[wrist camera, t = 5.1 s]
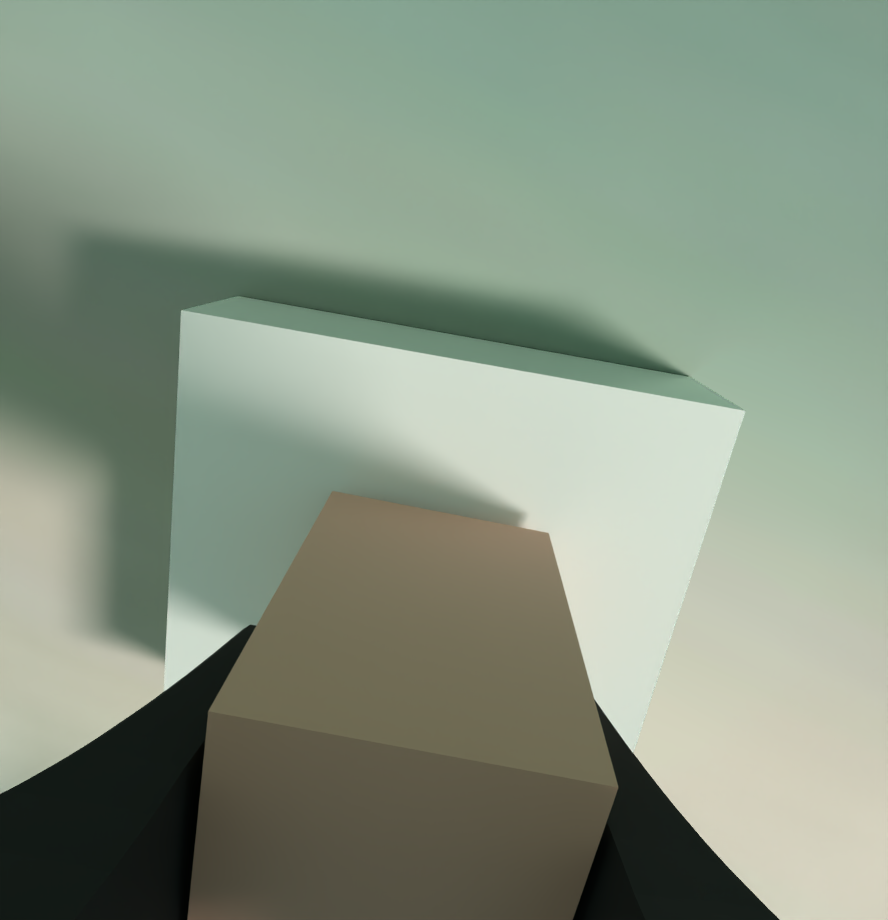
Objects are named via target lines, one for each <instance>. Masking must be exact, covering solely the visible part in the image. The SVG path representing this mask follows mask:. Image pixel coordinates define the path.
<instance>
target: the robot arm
mask: <svg viewBox="0 0 888 920" xmlns="http://www.w3.org/2000/svg"><path fill="white" fill-rule="evenodd" d="M255 627H256V625H249V626H247V627H246V628H244V629H243V630H241V631H240V632H239V633H238V634H236V635H235V636H234V637H233V638H231V639H230V640H229V641H228V642H227V643H225V644H224V645H223V646H222V647H221V648H219V649H218V650H217V651H216V652H214V653H213V654H212V655H211V656H210V657H208V658H207V659H206V660H204V661H203V662H202V663H201V664H199V665H198V666H197V667H196V668H194V669H193V670H192V671H191V672H189V673H188V674H187V675H185V676H184V677H183V678H181V679H180V680H179V681H177V682H176V683H175V684H173V685H172V686H171V687H169V688H168V689H167V690H165V691H164V692H163V693H162V694H160V695H159V696H158V697H156V698H155V699H154V700H152V701H151V702H149V703H148V704H147V705H145V706H144V707H142V708H141V709H139V710H138V711H136V712H135V713H134V714H132V715H131V716H129V717H128V718H126V719H125V720H123V721H122V722H120V723H119V724H117V725H116V726H114V727H113V728H111V729H110V730H108V731H107V732H106V733H104V734H103V735H101V736H100V737H98V738H97V739H95V740H93V741H92V742H90V743H89V744H87V745H86V746H84V747H82V748H81V749H79V750H78V751H76V752H74V753H73V754H71V755H69V756H68V757H66V758H64V759H63V760H61V761H59V762H58V763H56V764H54V765H53V766H51V767H49V768H47V769H46V770H44V771H42V772H40V773H39V774H37V775H35V776H33V777H32V778H30V779H28V780H26V781H24V782H23V783H21V784H19V785H17V786H15V787H13V788H11V789H9V790H8V791H5V792H3V793H1V794H0V920H187V918H188V909H189V899H190V889H191V879H192V869H193V859H194V849H195V839H196V829H197V819H198V809H199V799H200V789H201V779H202V769H203V759H204V749H205V739H206V729H207V719H208V711H209V709H210V707H211V706H212V704H213V702H214V700H215V698H216V697H217V695H218V693H219V691H220V690H221V688H222V686H223V684H224V682H225V681H226V679H227V677H228V675H229V674H230V672H231V670H232V668H233V666H234V665H235V663H236V661H237V659H238V658H239V656H240V654H241V652H242V651H243V649H244V647H245V645H246V643H247V642H248V640H249V638H250V636H251V635H252V633H253V631H254V629H255ZM594 700H595V699H594ZM595 704H596V707H597V711H598V715H599V718H600V722H601V725H602V729H603V733H604V736H605V740H606V744H607V747H608V751H609V755H610V758H611V762H612V766H613V769H614V773H615V776H616V780H617V784H618V790H617V793H616V796H615V799H614V802H613V805H612V808H611V811H610V813H609V816H608V819H607V822H606V825H605V828H604V831H603V834H602V837H601V839H600V842H599V845H598V848H597V851H596V854H595V857H594V860H593V863H592V865H591V868H590V871H589V874H588V877H587V880H586V883H585V886H584V889H583V891H582V894H581V897H580V900H579V903H578V906H577V909H576V912H575V915H574V917H573V920H779V919H778V918H777V917H776V916H775V915H774V914H773V913H772V912H771V911H770V910H769V909H768V908H767V907H766V906H765V905H764V904H763V903H762V902H761V901H760V900H759V899H758V898H757V897H756V896H755V895H754V893H753V892H752V891H751V890H750V889H749V888H748V887H747V886H746V885H745V884H744V883H743V882H742V881H741V880H740V879H739V878H738V877H737V876H736V875H735V874H734V873H733V872H732V871H731V870H730V869H729V868H728V867H727V866H726V865H725V864H724V862H723V861H722V860H721V859H720V858H719V857H718V856H717V855H716V854H715V853H714V851H713V850H712V849H711V848H710V847H709V846H708V845H707V844H706V843H705V841H704V840H703V839H702V838H701V837H700V836H699V834H698V833H697V832H696V831H695V830H694V828H693V827H692V826H691V825H690V824H689V823H688V821H687V820H686V819H685V818H684V817H683V816H682V814H681V813H680V812H679V811H678V810H677V809H676V807H675V806H674V805H673V804H672V802H671V801H670V800H669V799H668V797H667V796H666V795H665V794H664V793H663V791H662V790H661V789H660V788H659V786H658V785H657V784H656V782H655V781H654V780H653V779H652V777H651V776H650V775H649V773H648V772H647V771H646V770H645V768H644V767H643V766H642V764H641V763H640V762H639V760H638V759H637V758H636V756H635V755H634V754H633V752H632V751H631V750H630V748H629V747H628V746H627V744H626V743H625V741H624V740H623V739H622V737H621V736H620V734H619V733H618V732H617V730H616V729H615V728H614V726H613V725H612V723H611V722H610V721H609V719H608V718H607V716H606V715H605V713H604V712H603V711H602V709H601V708H600V706H599V705H598V704H597V702H596V701H595Z"/></svg>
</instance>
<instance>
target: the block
mask: <svg viewBox="0 0 888 920" xmlns="http://www.w3.org/2000/svg"><path fill="white" fill-rule="evenodd" d="M617 790H618V784H617V780H616V776H615V773H614V769H613V766H612V762H611V758H610V755H609V751H608V747H607V744H606V740H605V736H604V733H603V729H602V725H601V722H600V718H599V715H598V711H597V707H596V704H595V700H594V696H593V693H592V689H591V685H590V682H589V678H588V674H587V671H586V667H585V664H584V660H583V656H582V653H581V649H580V645H579V642H578V638H577V634H576V631H575V627H574V623H573V620H572V616H571V612H570V609H569V605H568V602H567V598H566V594H565V591H564V587H563V583H562V580H561V576H560V572H559V569H558V565H557V561H556V558H555V554H554V551H553V547H552V543H551V540H550V536H549V533H546V532H541V531H536V530H531V529H526V528H521V527H516V526H510V525H505V524H500V523H495V522H490V521H485V520H480V519H474V518H469V517H464V516H459V515H454V514H449V513H444V512H438V511H433V510H428V509H423V508H418V507H413V506H408V505H402V504H397V503H392V502H387V501H382V500H377V499H372V498H366V497H361V496H356V495H351V494H346V493H341V492H336V491H332V492H331V494H330V496H329V498H328V500H327V501H326V503H325V505H324V507H323V508H322V510H321V512H320V514H319V516H318V517H317V519H316V521H315V523H314V524H313V526H312V528H311V530H310V532H309V533H308V535H307V537H306V539H305V540H304V542H303V544H302V546H301V548H300V549H299V551H298V553H297V555H296V556H295V558H294V560H293V562H292V564H291V565H290V567H289V569H288V571H287V572H286V574H285V576H284V578H283V579H282V581H281V583H280V585H279V587H278V588H277V590H276V592H275V594H274V595H273V597H272V599H271V601H270V603H269V604H268V606H267V608H266V610H265V611H264V613H263V615H262V617H261V619H260V620H259V622H258V624H257V626H256V627H255V629H254V631H253V633H252V635H251V636H250V638H249V640H248V642H247V643H246V645H245V647H244V649H243V651H242V652H241V654H240V656H239V658H238V659H237V661H236V663H235V665H234V666H233V668H232V670H231V672H230V674H229V675H228V677H227V679H226V681H225V682H224V684H223V686H222V688H221V690H220V691H219V693H218V695H217V697H216V698H215V700H214V702H213V704H212V706H211V707H210V709H209V711H208V719H207V729H206V739H205V749H204V759H203V769H202V779H201V789H200V799H199V809H198V819H197V829H196V839H195V849H194V859H193V869H192V879H191V889H190V899H189V909H188V918H187V920H573V917H574V915H575V912H576V909H577V906H578V903H579V900H580V897H581V894H582V891H583V889H584V886H585V883H586V880H587V877H588V874H589V871H590V868H591V865H592V863H593V860H594V857H595V854H596V851H597V848H598V845H599V842H600V839H601V837H602V834H603V831H604V828H605V825H606V822H607V819H608V816H609V813H610V811H611V808H612V805H613V802H614V799H615V796H616V793H617Z"/></svg>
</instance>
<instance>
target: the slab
mask: <svg viewBox="0 0 888 920" xmlns="http://www.w3.org/2000/svg"><path fill="white" fill-rule="evenodd" d="M744 414H745V410H743V409H742V408H740V407H738V406H737V405H735V404H734V403H732V402H730V401H729V400H727V399H726V398H724V397H722V396H721V395H719V394H718V393H716V392H714V391H713V390H711V389H709V388H708V387H706V386H705V385H703V384H701V383H700V382H698V381H697V380H695V379H693V378H692V377H687V376H682V375H676V374H671V373H665V372H659V371H654V370H648V369H643V368H637V367H631V366H626V365H620V364H615V363H609V362H604V361H598V360H592V359H587V358H581V357H576V356H570V355H565V354H559V353H553V352H548V351H542V350H537V349H531V348H525V347H520V346H514V345H509V344H503V343H498V342H492V341H486V340H481V339H475V338H470V337H464V336H459V335H453V334H447V333H442V332H436V331H431V330H425V329H419V328H414V327H408V326H403V325H397V324H392V323H386V322H380V321H375V320H369V319H364V318H358V317H353V316H347V315H341V314H336V313H330V312H325V311H319V310H313V309H308V308H302V307H297V306H291V305H286V304H280V303H274V302H269V301H263V300H258V299H252V298H247V297H241V296H236V297H232V298H228V299H224V300H220V301H216V302H212V303H208V304H204V305H200V306H196V307H192V308H188V309H184V310H181V324H180V346H179V368H178V390H177V412H176V434H175V456H174V478H173V500H172V522H171V544H170V566H169V588H168V610H167V632H166V654H165V676H164V691H165V690H167V689H168V688H169V687H171V686H172V685H173V684H175V683H176V682H177V681H179V680H180V679H181V678H183V677H184V676H185V675H187V674H188V673H189V672H191V671H192V670H193V669H194V668H196V667H197V666H198V665H199V664H201V663H202V662H203V661H204V660H206V659H207V658H208V657H210V656H211V655H212V654H213V653H214V652H216V651H217V650H218V649H219V648H221V647H222V646H223V645H224V644H225V643H227V642H228V641H229V640H230V639H231V638H233V637H234V636H235V635H236V634H238V633H239V632H240V631H241V630H243V629H244V628H246V627H247V626H249V625H256V626H257V624H258V622H259V620H260V619H261V617H262V615H263V613H264V611H265V610H266V608H267V606H268V604H269V603H270V601H271V599H272V597H273V595H274V594H275V592H276V590H277V588H278V587H279V585H280V583H281V581H282V579H283V578H284V576H285V574H286V572H287V571H288V569H289V567H290V565H291V564H292V562H293V560H294V558H295V556H296V555H297V553H298V551H299V549H300V548H301V546H302V544H303V542H304V540H305V539H306V537H307V535H308V533H309V532H310V530H311V528H312V526H313V524H314V523H315V521H316V519H317V517H318V516H319V514H320V512H321V510H322V508H323V507H324V505H325V503H326V501H327V500H328V498H329V496H330V494H331V492H332V491H336V492H341V493H346V494H351V495H356V496H361V497H366V498H372V499H377V500H382V501H387V502H392V503H397V504H402V505H408V506H413V507H418V508H423V509H428V510H433V511H438V512H444V513H449V514H454V515H459V516H464V517H469V518H474V519H480V520H485V521H490V522H495V523H500V524H505V525H510V526H516V527H521V528H526V529H531V530H536V531H541V532H546V533H549V536H550V540H551V543H552V547H553V551H554V554H555V558H556V561H557V565H558V569H559V572H560V576H561V580H562V583H563V587H564V591H565V594H566V598H567V602H568V605H569V609H570V612H571V616H572V620H573V623H574V627H575V631H576V634H577V638H578V642H579V645H580V649H581V653H582V656H583V660H584V664H585V667H586V671H587V674H588V678H589V682H590V685H591V689H592V693H593V696H594V699H595V701H596V702H597V704H598V705H599V706H600V708H601V709H602V711H603V712H604V713H605V715H606V716H607V718H608V719H609V721H610V722H611V723H612V725H613V726H614V728H615V729H616V730H617V732H618V733H619V734H620V736H621V737H622V739H623V740H624V741H625V743H626V744H627V746H628V747H629V748H630V750H631V751H632V752H633V753H634V749H635V746H636V743H637V740H638V737H639V734H640V731H641V728H642V725H643V722H644V719H645V716H646V713H647V710H648V707H649V704H650V701H651V698H652V694H653V691H654V688H655V685H656V682H657V679H658V676H659V673H660V670H661V667H662V664H663V661H664V658H665V655H666V652H667V649H668V646H669V643H670V640H671V636H672V633H673V630H674V627H675V624H676V621H677V618H678V615H679V612H680V609H681V606H682V603H683V600H684V597H685V594H686V591H687V588H688V585H689V582H690V578H691V575H692V572H693V569H694V566H695V563H696V560H697V557H698V554H699V551H700V548H701V545H702V542H703V539H704V536H705V533H706V530H707V527H708V523H709V520H710V517H711V514H712V511H713V508H714V505H715V502H716V499H717V496H718V493H719V490H720V487H721V484H722V481H723V478H724V475H725V472H726V469H727V465H728V462H729V459H730V456H731V453H732V450H733V447H734V444H735V441H736V438H737V435H738V432H739V429H740V426H741V423H742V420H743V417H744Z"/></svg>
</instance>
